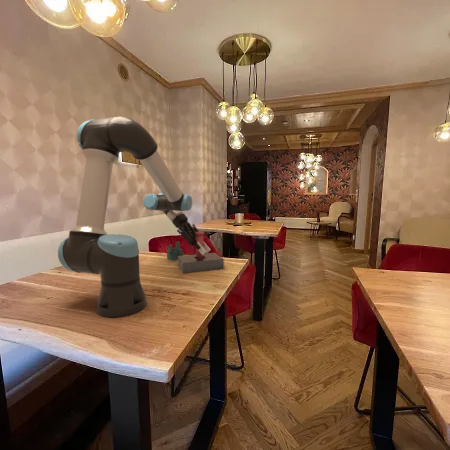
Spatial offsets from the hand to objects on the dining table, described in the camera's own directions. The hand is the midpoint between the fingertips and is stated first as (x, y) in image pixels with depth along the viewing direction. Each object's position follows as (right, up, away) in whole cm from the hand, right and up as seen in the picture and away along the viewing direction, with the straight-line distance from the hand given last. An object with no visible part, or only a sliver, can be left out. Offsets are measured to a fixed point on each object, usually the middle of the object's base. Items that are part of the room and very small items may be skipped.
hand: (206, 252), depth 127 cm
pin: (-3, -5, +2) cm, 6 cm away
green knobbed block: (-19, -6, +20) cm, 28 cm away
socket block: (-3, -8, +2) cm, 9 cm away
